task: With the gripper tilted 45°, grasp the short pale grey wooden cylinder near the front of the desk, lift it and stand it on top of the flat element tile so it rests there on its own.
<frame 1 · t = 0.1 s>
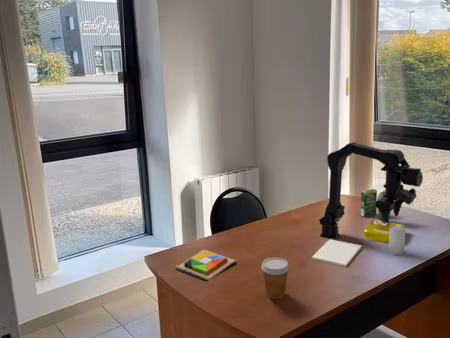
hand: (391, 219, 179), 15 cm above the table, tool pointing down, fingers open, 9 cm apart
grey cylinder: (396, 252, 183), on the table
beverage cup: (383, 222, 215), on the table
wooden puzzle: (206, 267, 179), on the table
coffee box: (368, 215, 224), on the table
notebook: (337, 253, 184), on the table
element tile: (384, 236, 200), on the table
disposable coffee cup: (275, 295, 155), on the table
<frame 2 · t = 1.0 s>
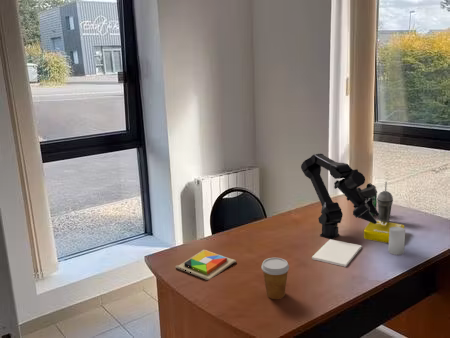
hand: (377, 219, 183), 13 cm above the table, tool tilted 45°, fingers open, 9 cm apart
nothing on the table moved.
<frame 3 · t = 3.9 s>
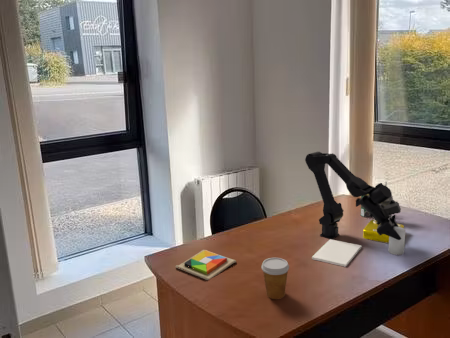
hand: (400, 236, 181), 7 cm above the table, tool tilted 45°, fingers closed on grey cylinder, 6 cm apart
grey cylinder: (396, 251, 183), on the table, touching gripper
everything else where it was.
when the fingers open (13 cm above the table, at t = 8.0 s): grey cylinder drops 1 cm, resting on element tile.
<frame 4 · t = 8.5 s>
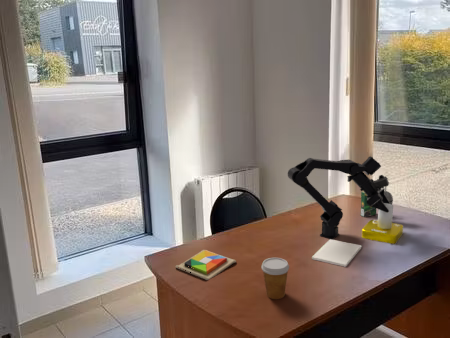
hand: (388, 208, 196), 13 cm above the table, tool tilted 45°, fingers open, 9 cm apart
grey cylinder: (384, 226, 198), point 4 cm above the table, touching element tile
element tile: (382, 236, 200), on the table, touching grey cylinder
everything else where it was.
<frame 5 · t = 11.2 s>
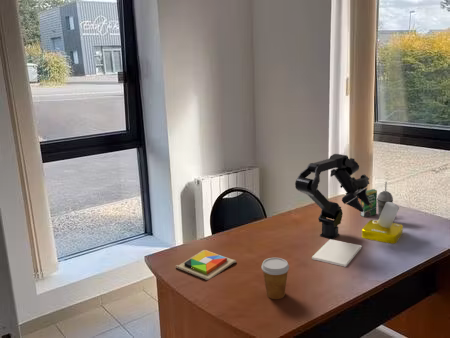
hand: (366, 208, 198), 13 cm above the table, tool tilted 40°, fingers open, 9 cm apart
grey cylinder: (384, 224, 198), point 5 cm above the table, tilted 18°, touching element tile
everything else where it was.
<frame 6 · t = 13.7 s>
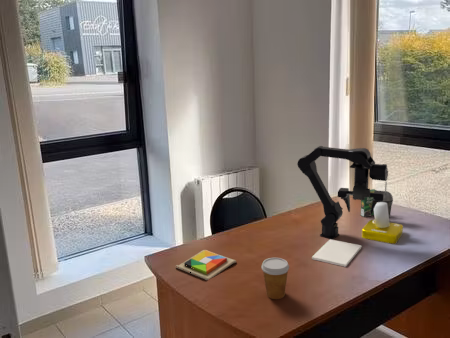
hand: (360, 212, 192), 13 cm above the table, tool pointing down, fingers open, 9 cm apart
grey cylinder: (382, 225, 199), point 5 cm above the table, tilted 9°, touching element tile
everything else where it was.
at the end: grey cylinder 0.3 cm from the element tile (horizontally); grey cylinder tilted 9°; grey cylinder touching element tile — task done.
